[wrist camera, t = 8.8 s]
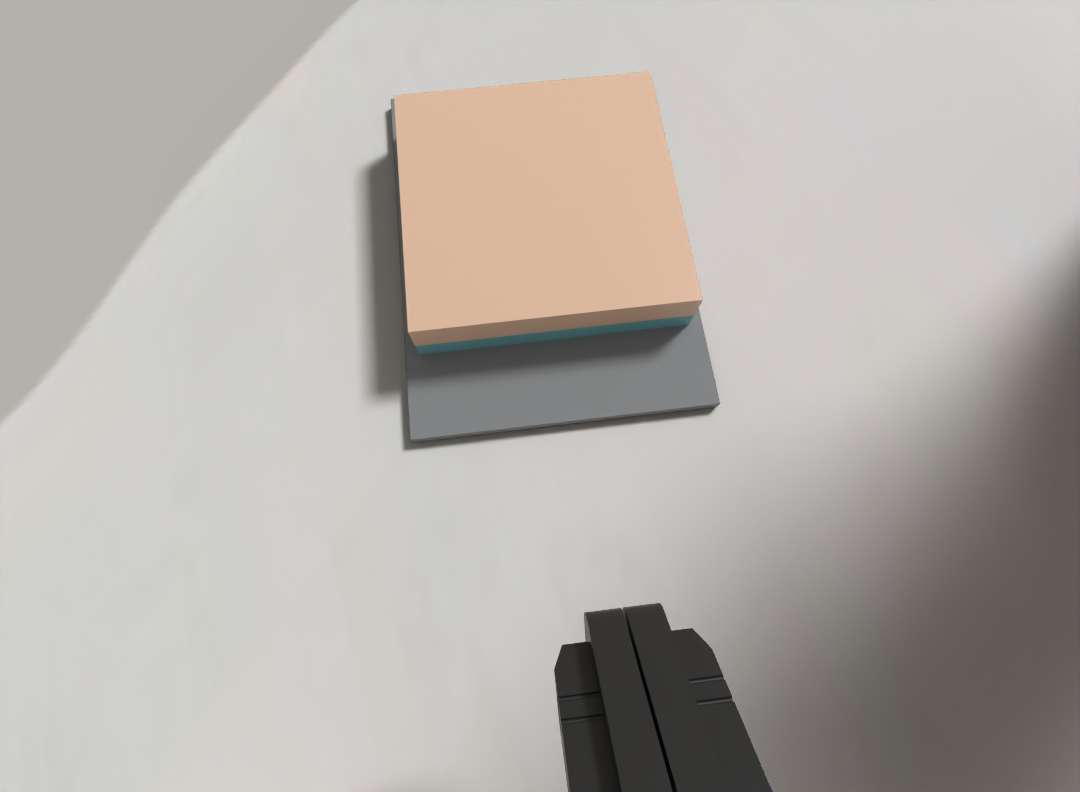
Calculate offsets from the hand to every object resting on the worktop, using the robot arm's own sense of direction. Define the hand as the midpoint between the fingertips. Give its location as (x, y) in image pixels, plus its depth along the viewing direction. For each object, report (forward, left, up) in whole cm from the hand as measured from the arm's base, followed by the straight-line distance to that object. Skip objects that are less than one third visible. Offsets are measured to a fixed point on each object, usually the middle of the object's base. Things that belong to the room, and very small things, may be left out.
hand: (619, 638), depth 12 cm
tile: (0, -10, -7) cm, 12 cm away
